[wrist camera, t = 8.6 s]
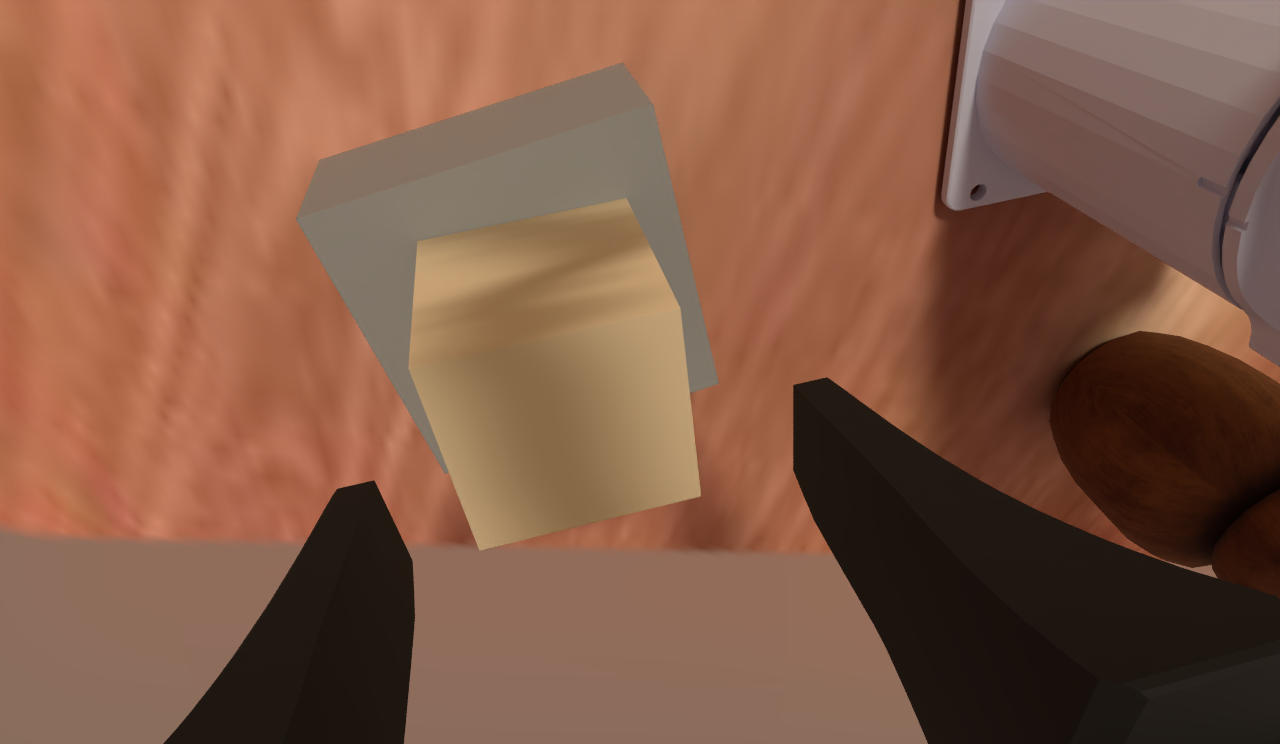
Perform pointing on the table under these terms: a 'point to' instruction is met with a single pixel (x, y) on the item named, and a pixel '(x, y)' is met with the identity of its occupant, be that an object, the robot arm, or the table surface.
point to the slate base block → (494, 203)
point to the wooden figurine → (1178, 452)
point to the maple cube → (553, 372)
